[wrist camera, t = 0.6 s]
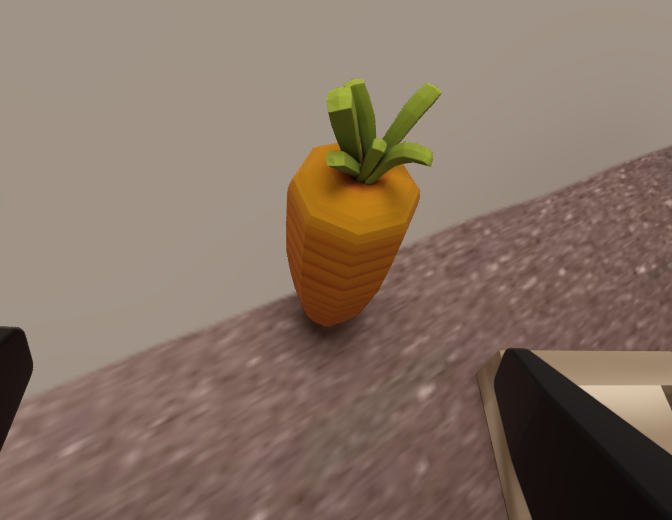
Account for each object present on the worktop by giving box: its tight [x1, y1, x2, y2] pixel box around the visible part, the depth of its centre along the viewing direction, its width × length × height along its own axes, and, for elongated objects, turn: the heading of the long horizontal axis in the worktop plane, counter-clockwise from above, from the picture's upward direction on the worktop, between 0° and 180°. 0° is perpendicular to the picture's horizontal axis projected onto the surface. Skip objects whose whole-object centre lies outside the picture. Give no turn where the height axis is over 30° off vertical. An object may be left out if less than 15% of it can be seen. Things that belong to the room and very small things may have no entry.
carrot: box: [286, 79, 442, 327], centre depth 20 cm, size 5×5×15 cm
